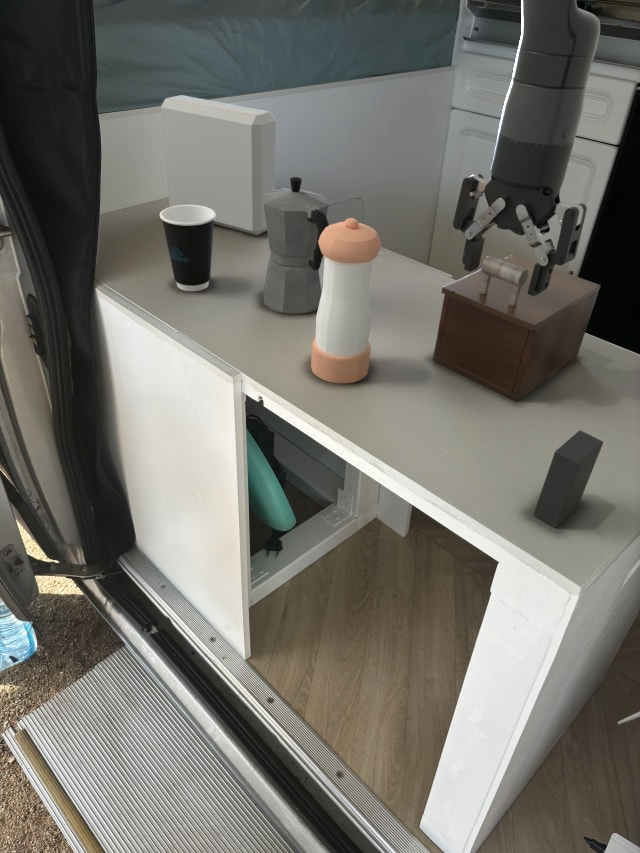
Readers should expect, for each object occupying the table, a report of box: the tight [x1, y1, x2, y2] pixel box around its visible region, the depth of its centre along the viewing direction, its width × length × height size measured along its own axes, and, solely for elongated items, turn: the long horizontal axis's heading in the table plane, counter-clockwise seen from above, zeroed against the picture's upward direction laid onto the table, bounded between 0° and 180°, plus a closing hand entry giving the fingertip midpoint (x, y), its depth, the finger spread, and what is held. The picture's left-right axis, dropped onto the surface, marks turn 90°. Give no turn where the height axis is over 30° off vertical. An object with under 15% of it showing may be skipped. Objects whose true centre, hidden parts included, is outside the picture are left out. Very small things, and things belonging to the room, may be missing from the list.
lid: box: [441, 254, 601, 331], centre depth 79 cm, size 16×13×5 cm
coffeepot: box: [262, 176, 330, 315], centre depth 92 cm, size 15×9×18 cm, turn 29°
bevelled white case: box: [160, 94, 277, 236], centre depth 118 cm, size 21×8×20 cm, turn 60°
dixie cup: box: [159, 205, 216, 292], centre depth 97 cm, size 8×8×11 cm
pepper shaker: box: [310, 217, 382, 384], centre depth 77 cm, size 7×7×19 cm
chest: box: [432, 291, 599, 402], centre depth 84 cm, size 16×13×10 cm
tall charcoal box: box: [533, 429, 604, 529], centre depth 62 cm, size 2×5×8 cm, turn 135°
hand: (501, 281), depth 76 cm, fingers open, 8 cm apart
